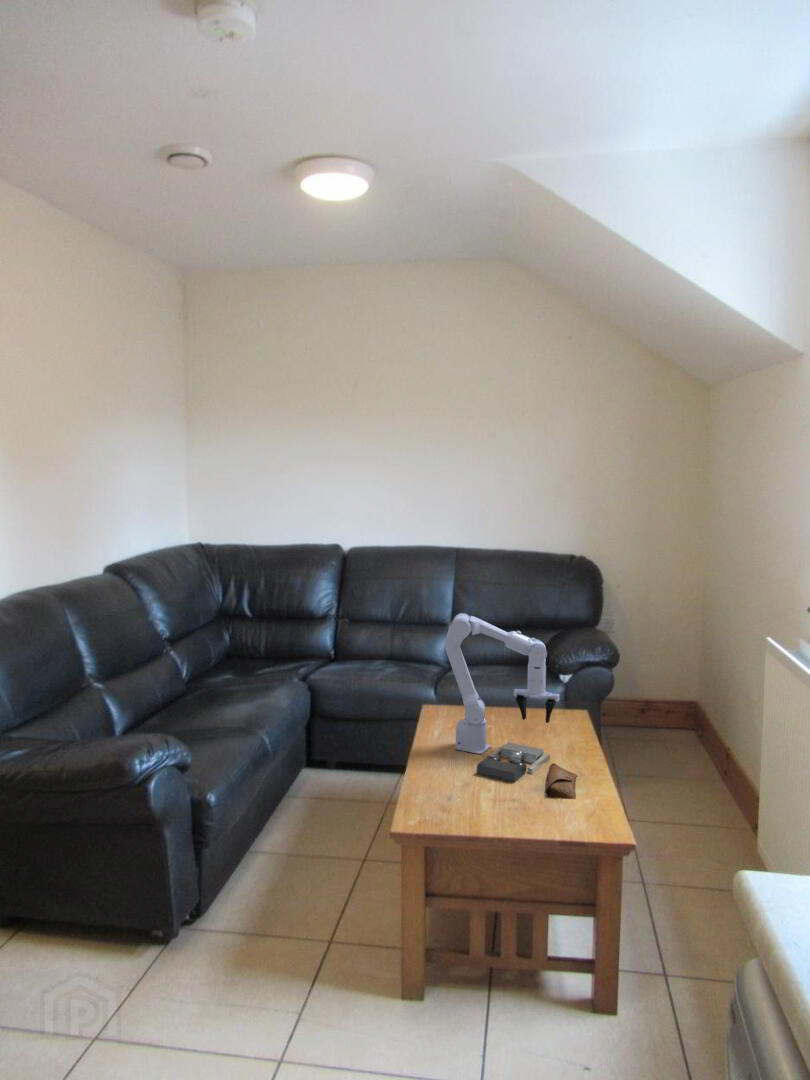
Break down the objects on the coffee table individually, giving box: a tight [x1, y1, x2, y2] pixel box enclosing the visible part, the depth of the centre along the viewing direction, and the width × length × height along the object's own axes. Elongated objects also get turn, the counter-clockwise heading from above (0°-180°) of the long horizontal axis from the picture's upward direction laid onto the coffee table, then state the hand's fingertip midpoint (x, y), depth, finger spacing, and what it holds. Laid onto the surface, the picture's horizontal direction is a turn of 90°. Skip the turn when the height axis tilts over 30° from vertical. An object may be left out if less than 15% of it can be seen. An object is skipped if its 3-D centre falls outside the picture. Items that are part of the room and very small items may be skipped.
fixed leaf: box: [476, 755, 528, 784], centre depth 227 cm, size 12×9×3 cm
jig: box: [483, 744, 551, 775], centre depth 236 cm, size 16×14×2 cm
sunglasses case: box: [545, 762, 578, 800], centre depth 218 cm, size 18×7×7 cm
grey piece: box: [499, 742, 545, 765], centre depth 238 cm, size 12×9×3 cm
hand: (535, 720), depth 244 cm, fingers open, 7 cm apart
